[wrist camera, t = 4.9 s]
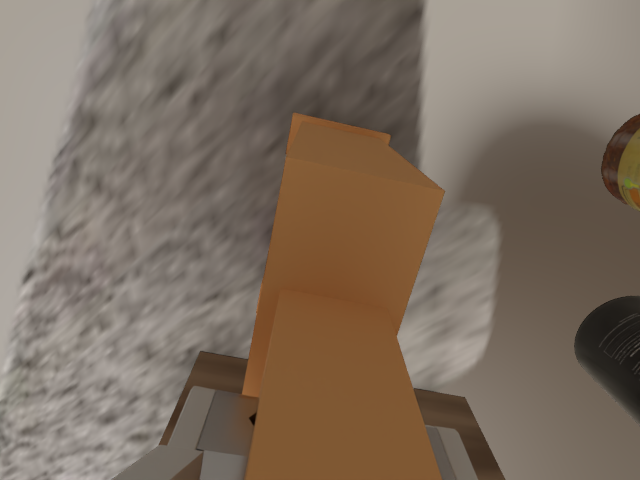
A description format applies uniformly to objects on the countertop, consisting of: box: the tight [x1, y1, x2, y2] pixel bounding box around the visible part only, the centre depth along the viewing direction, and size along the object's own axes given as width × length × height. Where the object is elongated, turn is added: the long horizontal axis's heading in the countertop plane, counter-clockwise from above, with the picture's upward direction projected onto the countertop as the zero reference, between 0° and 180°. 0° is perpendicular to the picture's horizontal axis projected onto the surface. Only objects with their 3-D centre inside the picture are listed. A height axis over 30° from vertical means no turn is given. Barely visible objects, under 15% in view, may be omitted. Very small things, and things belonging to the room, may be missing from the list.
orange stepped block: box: [242, 113, 445, 480], centre depth 15 cm, size 12×5×18 cm, turn 168°
